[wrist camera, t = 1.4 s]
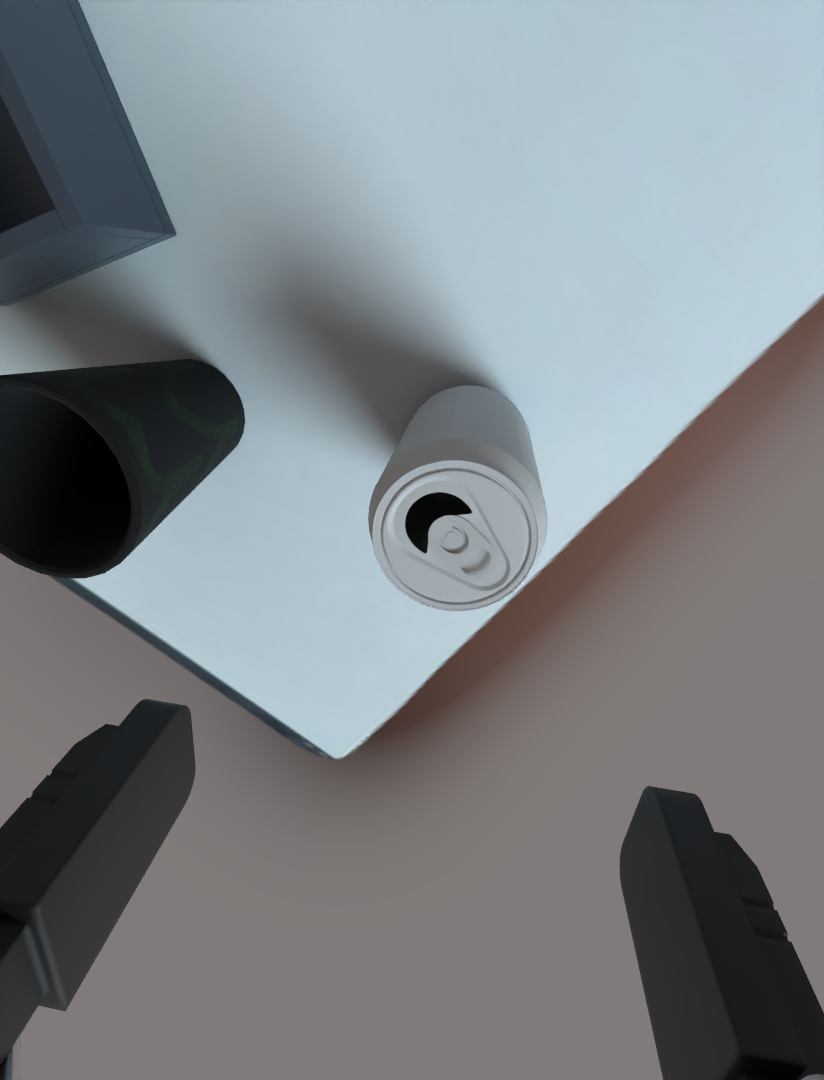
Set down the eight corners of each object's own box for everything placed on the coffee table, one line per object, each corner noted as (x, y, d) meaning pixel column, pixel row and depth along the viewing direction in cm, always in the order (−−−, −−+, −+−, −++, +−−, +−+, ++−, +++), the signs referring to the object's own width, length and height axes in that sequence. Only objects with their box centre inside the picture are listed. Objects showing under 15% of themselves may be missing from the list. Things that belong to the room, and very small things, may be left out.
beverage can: (468, 354, 28) (453, 405, 17) (555, 445, 29) (592, 546, 18) (383, 443, 30) (322, 537, 20) (466, 523, 32) (453, 652, 21)
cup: (190, 500, 33) (46, 609, 23) (101, 387, 31) (-107, 448, 20) (291, 436, 31) (182, 524, 20) (201, 307, 29) (25, 329, 18)
